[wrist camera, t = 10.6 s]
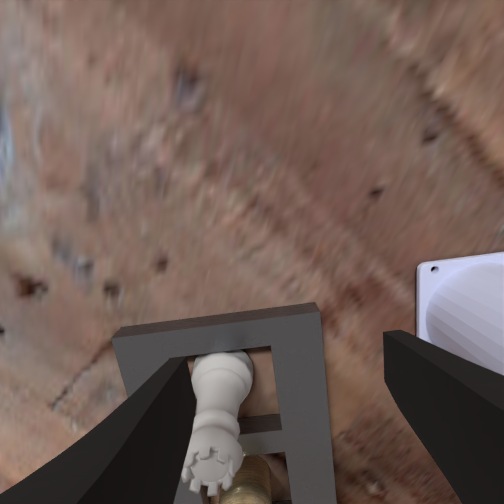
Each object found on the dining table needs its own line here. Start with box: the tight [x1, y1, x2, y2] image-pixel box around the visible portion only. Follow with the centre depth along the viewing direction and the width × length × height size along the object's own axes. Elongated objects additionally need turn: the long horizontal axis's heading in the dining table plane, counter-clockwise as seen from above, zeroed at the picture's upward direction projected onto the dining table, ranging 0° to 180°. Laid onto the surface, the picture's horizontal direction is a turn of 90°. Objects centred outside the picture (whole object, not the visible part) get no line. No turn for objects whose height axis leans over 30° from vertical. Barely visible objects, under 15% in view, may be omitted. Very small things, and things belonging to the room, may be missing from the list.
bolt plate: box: [111, 302, 337, 504], centre depth 20 cm, size 14×20×5 cm
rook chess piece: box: [181, 349, 254, 496], centre depth 17 cm, size 4×4×8 cm
